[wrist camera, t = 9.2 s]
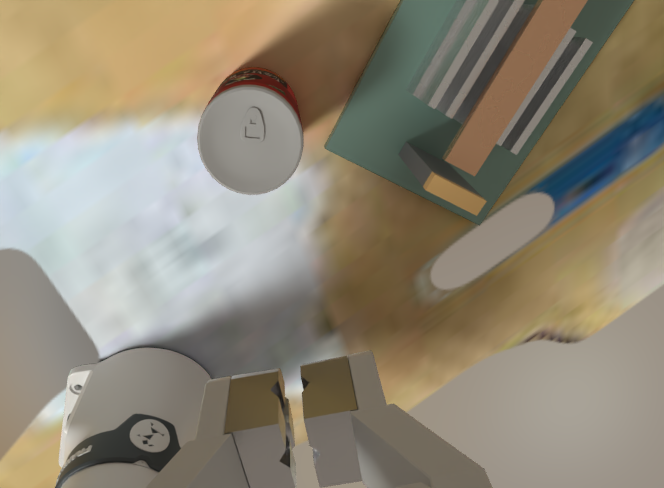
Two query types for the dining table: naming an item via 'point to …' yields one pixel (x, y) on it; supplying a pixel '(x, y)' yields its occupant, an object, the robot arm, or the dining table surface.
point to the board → (432, 125)
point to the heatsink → (489, 64)
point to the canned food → (251, 132)
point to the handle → (511, 82)
